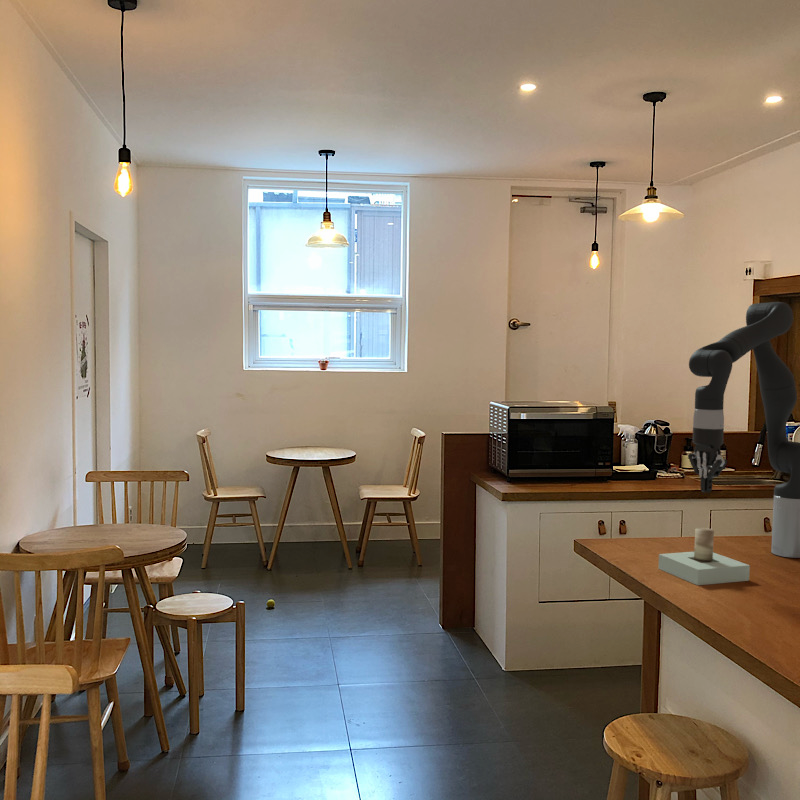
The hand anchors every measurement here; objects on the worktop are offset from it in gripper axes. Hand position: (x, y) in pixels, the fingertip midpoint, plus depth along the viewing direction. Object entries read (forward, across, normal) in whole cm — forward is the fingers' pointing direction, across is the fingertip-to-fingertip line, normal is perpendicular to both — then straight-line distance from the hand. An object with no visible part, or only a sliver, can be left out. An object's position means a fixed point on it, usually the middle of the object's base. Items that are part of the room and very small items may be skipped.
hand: (705, 491), depth 213 cm
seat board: (+22, 0, 0) cm, 22 cm away
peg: (+22, 0, 0) cm, 22 cm away
